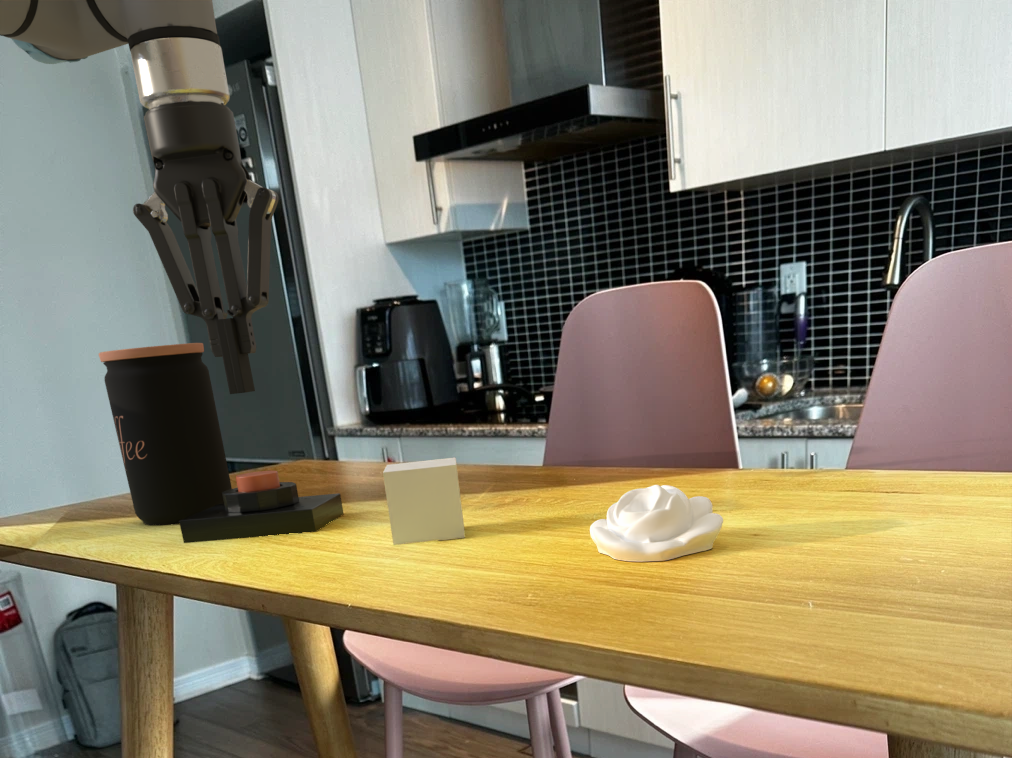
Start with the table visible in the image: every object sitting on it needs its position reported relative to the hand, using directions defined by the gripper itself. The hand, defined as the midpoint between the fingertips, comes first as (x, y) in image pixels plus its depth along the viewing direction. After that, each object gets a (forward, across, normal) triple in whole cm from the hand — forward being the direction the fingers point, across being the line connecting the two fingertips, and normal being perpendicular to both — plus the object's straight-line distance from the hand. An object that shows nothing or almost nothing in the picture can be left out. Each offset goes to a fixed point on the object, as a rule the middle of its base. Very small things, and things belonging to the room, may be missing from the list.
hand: (242, 392), depth 97 cm
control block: (+13, 0, 0) cm, 13 cm away
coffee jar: (+13, +14, -13) cm, 23 cm away
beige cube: (+13, -18, +12) cm, 25 cm away
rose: (+13, -38, +25) cm, 47 cm away
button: (+9, 0, 0) cm, 9 cm away
